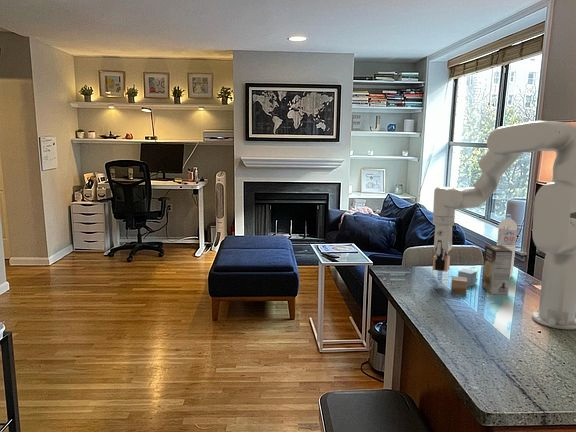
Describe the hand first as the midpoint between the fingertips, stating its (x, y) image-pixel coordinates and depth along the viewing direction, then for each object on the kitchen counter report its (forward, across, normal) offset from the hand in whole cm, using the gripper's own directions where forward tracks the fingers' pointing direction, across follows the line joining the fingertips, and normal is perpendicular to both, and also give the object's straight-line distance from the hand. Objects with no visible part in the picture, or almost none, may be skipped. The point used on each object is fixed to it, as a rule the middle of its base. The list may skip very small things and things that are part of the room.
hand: (441, 267), depth 167 cm
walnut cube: (+7, -5, -7) cm, 11 cm away
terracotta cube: (+1, 0, 0) cm, 1 cm away
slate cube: (+7, +7, -8) cm, 13 cm away
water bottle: (+7, +27, -19) cm, 34 cm away
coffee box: (+7, +4, -18) cm, 20 cm away
